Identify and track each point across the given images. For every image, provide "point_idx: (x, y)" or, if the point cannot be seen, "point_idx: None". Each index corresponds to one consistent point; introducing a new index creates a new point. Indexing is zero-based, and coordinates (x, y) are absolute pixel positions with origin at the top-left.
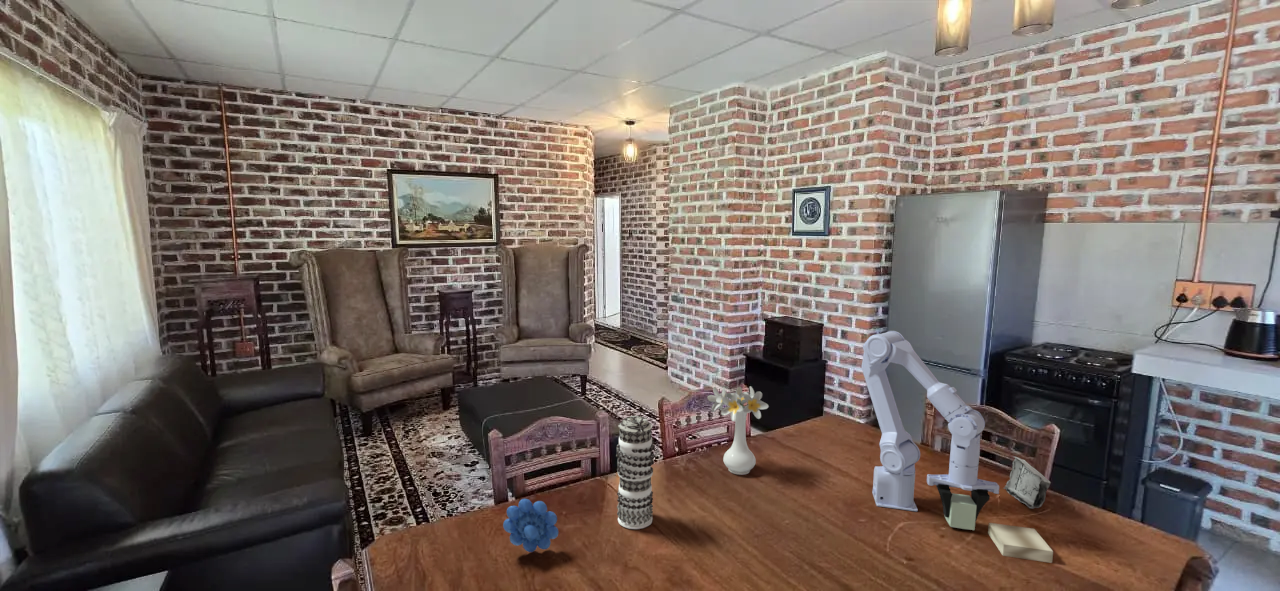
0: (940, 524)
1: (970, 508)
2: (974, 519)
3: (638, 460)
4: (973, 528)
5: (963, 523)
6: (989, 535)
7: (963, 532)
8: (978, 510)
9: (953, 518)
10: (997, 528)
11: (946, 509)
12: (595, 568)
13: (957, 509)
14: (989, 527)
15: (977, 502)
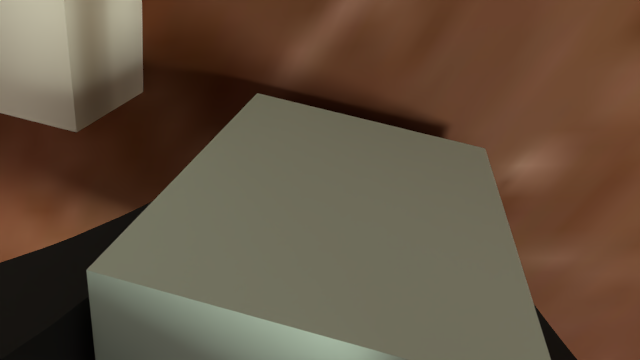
0: (512, 222)
1: (223, 249)
2: (221, 144)
3: None
4: (263, 100)
5: (356, 141)
6: (142, 51)
7: (366, 94)
8: (107, 236)
9: (471, 192)
10: (11, 4)
11: (540, 318)
12: None
13: (435, 271)
14: (99, 89)
15: (27, 333)
